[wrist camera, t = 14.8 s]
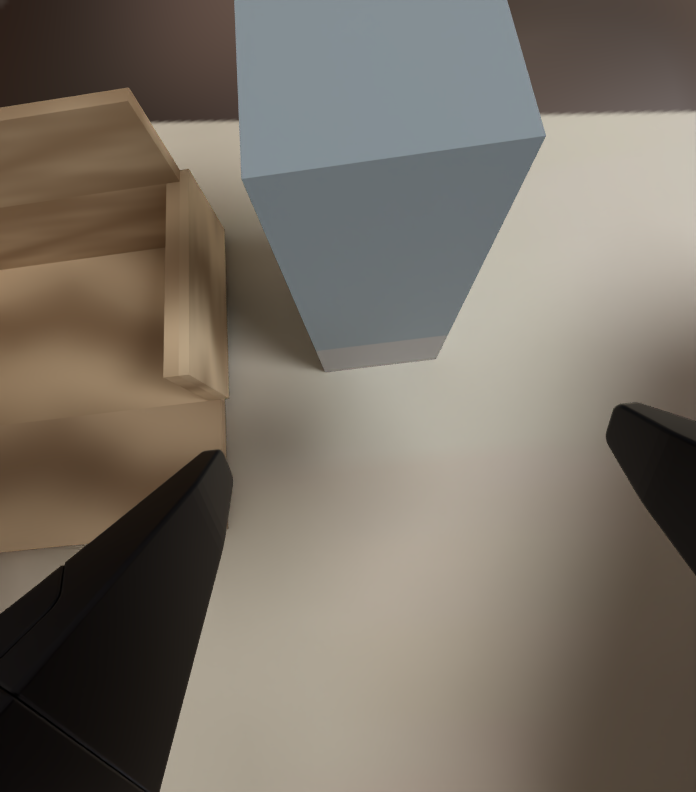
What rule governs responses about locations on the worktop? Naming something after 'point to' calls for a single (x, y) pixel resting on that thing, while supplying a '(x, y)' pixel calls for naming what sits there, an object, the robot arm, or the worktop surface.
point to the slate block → (382, 160)
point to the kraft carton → (101, 318)
